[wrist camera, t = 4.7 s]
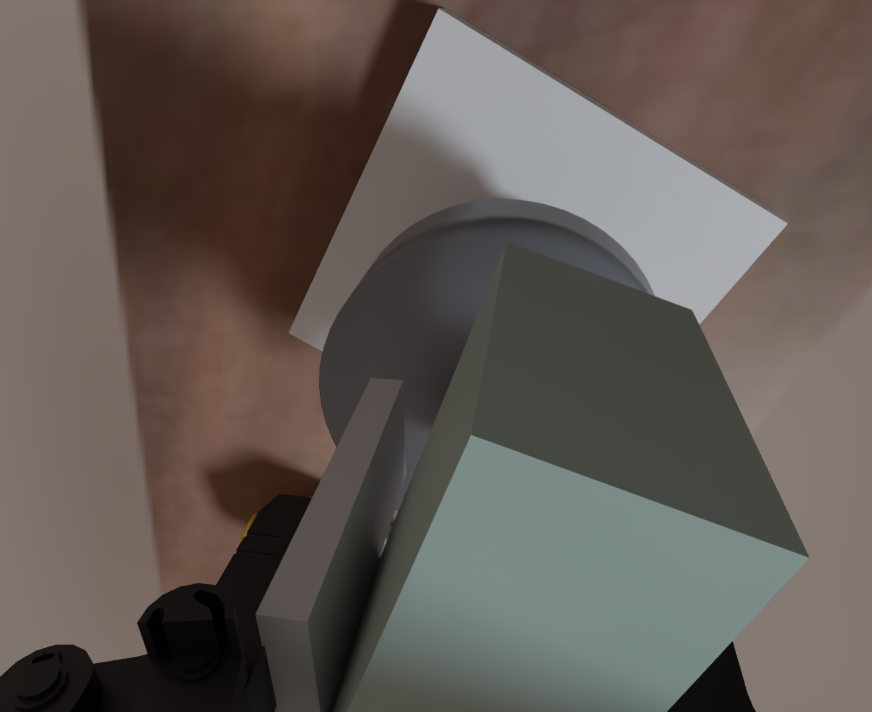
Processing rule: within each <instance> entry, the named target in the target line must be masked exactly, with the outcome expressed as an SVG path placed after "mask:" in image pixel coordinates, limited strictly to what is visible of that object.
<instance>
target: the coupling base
mask: <svg viewBox="0 0 872 712" xmlns="http://www.w3.org/2000/svg"><path fill="white" fill-rule="evenodd" d="M490 199H516V200H525V201H531V202H537V203H543V204H546V205H550V206H553V207H556V208H560V209H563V210H566V211H568V212H570V213H572V214H574V215H577V216H579V217H581V218H583V219H585V220H587V221H589V222H590V223H592V224H593V225H595V226H597V227H598V228H600V229H601V230H603V231H605V232H606V233H607V234H608V235H609V236H611V237H612V238H613V239H614V240H615V241H617V242H618V243H619V244H620V245H621V246H622V247H623V248H624V249H625V250H626V251H627V252H628V254H629V255H630V256H631V257H632V258H633V259H634V260H635V261H636V263H637V264H638V266H639V267H640V269H641V270H642V272H643V273H644V275H645V276H646V278H647V280H648V282H649V284H650V286H651V288H652V291H653V293H654V295H655V296H656V297H659V298H661V299H664V300H667V301H669V302H672V303H675V304H677V305H680V306H683V307H686V308H688V309H691V310H692V311H693V313H694V315H695V317H696V319H697V321H698V323H699V324H700V323H701V322H702V321H703V320H704V319H705V318H706V316H707V315H708V314H709V313H710V312H711V311H712V310H713V308H714V307H715V306H716V305H717V304H718V303H719V302H720V300H721V299H722V298H723V297H724V296H725V295H726V294H727V292H728V291H729V290H730V289H731V288H732V287H733V286H734V284H735V283H736V282H737V281H738V280H739V279H740V278H741V276H742V275H743V274H744V273H745V272H746V271H747V270H748V268H749V267H750V266H751V265H752V264H753V263H754V262H755V261H756V259H757V258H758V257H759V256H760V255H761V254H762V253H763V251H764V250H765V249H766V248H767V247H768V246H769V245H770V243H771V242H772V241H773V240H774V239H775V238H776V237H777V235H778V234H779V233H780V232H781V231H782V230H783V229H784V227H785V226H786V225H787V224H788V223H787V222H786V221H785V220H783V219H782V218H781V217H780V216H779V215H778V214H777V213H776V212H775V211H773V210H772V209H770V208H768V207H767V206H765V205H764V204H762V203H760V202H759V201H757V200H755V199H754V198H752V197H751V196H749V195H747V194H746V193H744V192H742V191H741V190H739V189H738V188H736V187H734V186H733V185H731V184H729V183H728V182H726V181H725V180H723V179H721V178H720V177H718V176H717V175H715V174H713V173H712V172H710V171H708V170H707V169H705V168H704V167H702V166H700V165H699V164H697V163H695V162H694V161H692V160H691V159H689V158H687V157H686V156H684V155H682V154H681V153H679V152H678V151H676V150H674V149H673V148H671V147H669V146H668V145H666V144H665V143H663V142H661V141H660V140H658V139H657V138H655V137H653V136H652V135H650V134H648V133H647V132H645V131H644V130H642V129H640V128H639V127H637V126H635V125H634V124H632V123H631V122H629V121H627V120H626V119H624V118H622V117H621V116H619V115H618V114H616V113H614V112H613V111H611V110H609V109H608V108H606V107H605V106H603V105H601V104H600V103H598V102H597V101H595V100H593V99H592V98H590V97H588V96H587V95H585V94H584V93H582V92H580V91H579V90H577V89H575V88H574V87H572V86H571V85H569V84H567V83H566V82H564V81H562V80H561V79H559V78H558V77H556V76H554V75H553V74H551V73H549V72H548V71H546V70H545V69H543V68H541V67H540V66H538V65H537V64H535V63H533V62H532V61H530V60H528V59H527V58H525V57H524V56H522V55H520V54H519V53H517V52H515V51H514V50H512V49H511V48H509V47H507V46H506V45H504V44H502V43H501V42H499V41H498V40H496V39H494V38H493V37H491V36H490V35H488V34H486V33H485V32H483V31H481V30H480V29H478V28H477V27H475V26H473V25H472V24H470V23H468V22H467V21H465V20H464V19H462V18H460V17H459V16H457V15H455V14H454V13H452V12H451V11H449V10H447V9H446V8H439V9H438V11H437V13H436V15H435V17H434V19H433V22H432V24H431V26H430V28H429V30H428V32H427V35H426V37H425V39H424V41H423V43H422V45H421V48H420V50H419V52H418V54H417V56H416V58H415V60H414V63H413V65H412V67H411V69H410V71H409V73H408V76H407V78H406V80H405V82H404V84H403V86H402V89H401V91H400V93H399V95H398V97H397V99H396V102H395V104H394V106H393V108H392V110H391V112H390V115H389V117H388V119H387V121H386V123H385V125H384V127H383V130H382V132H381V134H380V136H379V138H378V140H377V143H376V145H375V147H374V149H373V151H372V153H371V156H370V158H369V160H368V162H367V164H366V166H365V169H364V171H363V173H362V175H361V177H360V179H359V182H358V184H357V186H356V188H355V190H354V192H353V194H352V197H351V199H350V201H349V203H348V205H347V207H346V210H345V212H344V214H343V216H342V218H341V220H340V223H339V225H338V227H337V229H336V231H335V233H334V236H333V238H332V240H331V242H330V244H329V246H328V249H327V251H326V253H325V255H324V257H323V259H322V262H321V264H320V266H319V268H318V270H317V272H316V274H315V277H314V279H313V281H312V283H311V285H310V287H309V290H308V292H307V294H306V296H305V298H304V300H303V303H302V305H301V307H300V309H299V311H298V313H297V316H296V318H295V320H294V322H293V324H292V326H291V329H290V331H289V334H291V335H293V336H295V337H296V338H298V339H300V340H302V341H304V342H306V343H308V344H309V345H311V346H313V347H315V348H317V349H319V350H321V351H322V352H323V347H324V344H325V342H326V339H327V336H328V333H329V330H330V328H331V326H332V324H333V322H334V320H335V318H336V317H337V315H338V313H339V311H340V309H341V308H342V306H343V305H344V304H345V302H346V301H347V299H348V298H349V296H350V295H351V294H352V292H353V291H354V289H355V288H356V286H357V285H358V284H359V282H360V281H361V279H362V278H363V276H364V275H365V274H366V272H367V271H368V269H369V268H370V266H371V265H372V264H373V262H374V261H375V260H376V258H377V257H378V256H379V254H380V253H381V252H382V251H383V250H384V249H385V248H386V247H387V246H388V245H389V244H390V243H391V242H392V241H393V240H394V239H395V238H396V237H397V236H398V235H399V234H401V233H402V232H403V231H405V230H406V229H407V228H409V227H410V226H411V225H413V224H414V223H416V222H418V221H420V220H422V219H424V218H425V217H427V216H429V215H431V214H433V213H436V212H438V211H441V210H444V209H446V208H449V207H451V206H455V205H460V204H464V203H468V202H472V201H481V200H490Z"/></svg>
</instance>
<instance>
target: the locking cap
mask: <svg viewBox="0 0 872 712" xmlns="http://www.w3.org/2000/svg"><path fill="white" fill-rule="evenodd" d="M370 378H382V379H394V380H403V394H404V426H405V459H406V475H405V479H404V482H403V485H402V488H401V491H400V495H399V498H398V501H397V504H396V507H395V509H396V510H397V511H398V514H397V516H396V519H395V521H394V524H393V526H392V529H391V531H390V534H389V536H388V539H387V541H386V544H385V546H384V549H383V551H382V554H381V556H380V559H379V562H378V565H377V568H376V571H375V575H374V578H373V581H372V584H371V588H370V591H369V594H368V597H367V600H366V604H365V607H364V610H363V613H362V616H361V620H360V623H359V626H358V629H357V633H356V636H355V639H354V642H353V645H352V649H351V652H350V655H349V658H348V661H347V665H346V668H345V671H344V674H343V678H342V681H341V684H340V687H339V690H338V694H337V697H336V700H335V703H334V706H333V710H332V712H667V711H668V710H669V709H670V708H671V707H672V706H673V705H674V703H675V702H676V701H677V700H678V699H679V698H680V697H681V696H682V695H683V694H684V693H685V692H686V691H687V689H688V688H689V687H690V686H691V685H692V684H693V683H694V682H695V681H696V680H697V679H698V678H699V677H700V675H701V674H702V673H703V672H704V671H705V670H706V669H707V668H708V667H709V666H710V665H711V664H712V662H713V661H714V660H715V659H716V658H717V657H718V656H719V655H720V654H721V653H722V652H723V651H724V650H725V648H726V647H727V646H728V645H729V644H730V643H731V642H732V641H733V640H734V639H735V638H736V636H738V634H739V633H740V632H741V631H742V630H743V629H744V628H745V627H746V625H748V623H750V621H751V620H752V619H753V618H754V617H755V616H756V615H757V614H758V613H759V612H760V611H761V610H762V609H763V608H764V606H765V605H766V604H767V603H768V602H769V601H770V600H771V599H772V598H773V597H774V596H775V595H776V593H777V592H778V591H779V590H780V589H781V588H782V587H783V586H784V585H785V584H786V583H787V582H788V581H789V579H790V578H791V577H792V576H793V575H794V574H795V573H796V572H797V571H798V570H799V569H800V568H801V567H802V565H803V564H804V563H805V562H806V561H807V560H808V559H809V556H808V554H807V552H806V549H805V547H804V545H803V543H802V541H801V539H800V537H799V535H798V533H797V530H796V528H795V526H794V524H793V522H792V520H791V518H790V516H789V513H788V511H787V509H786V507H785V505H784V503H783V501H782V499H781V497H780V494H779V492H778V490H777V488H776V486H775V484H774V482H773V480H772V478H771V475H770V473H769V471H768V469H767V467H766V465H765V463H764V461H763V459H762V456H761V454H760V452H759V451H758V448H757V446H756V444H755V442H754V440H753V437H752V435H751V433H750V431H749V429H748V427H747V425H746V423H745V420H744V418H743V416H742V414H741V412H740V410H739V408H738V406H737V404H736V401H735V399H734V397H733V395H732V393H731V391H730V389H729V387H728V385H727V382H726V380H725V378H724V376H723V374H722V372H721V370H720V368H719V365H718V363H717V361H716V359H715V357H714V355H713V353H712V351H711V349H710V346H709V344H708V342H707V340H706V338H705V336H704V334H703V332H702V330H701V327H700V325H699V323H698V321H697V319H696V317H695V315H694V313H693V311H692V310H691V309H688V308H686V307H683V306H680V305H677V304H675V303H672V302H669V301H667V300H664V299H661V298H659V297H656V296H655V295H654V293H653V291H652V288H651V286H650V284H649V282H648V280H647V278H646V276H645V275H644V273H643V272H642V270H641V269H640V267H639V266H638V264H637V263H636V261H635V260H634V259H633V258H632V257H631V256H630V255H629V254H628V252H627V251H626V250H625V249H624V248H623V247H622V246H621V245H620V244H619V243H618V242H617V241H615V240H614V239H613V238H612V237H611V236H609V235H608V234H607V233H606V232H605V231H603V230H601V229H600V228H598V227H597V226H595V225H593V224H592V223H590V222H589V221H587V220H585V219H583V218H581V217H579V216H577V215H574V214H572V213H570V212H568V211H566V210H563V209H560V208H556V207H553V206H550V205H546V204H543V203H537V202H531V201H525V200H516V199H490V200H481V201H472V202H468V203H464V204H460V205H455V206H451V207H449V208H446V209H444V210H441V211H438V212H436V213H433V214H431V215H429V216H427V217H425V218H424V219H422V220H420V221H418V222H416V223H414V224H413V225H411V226H410V227H409V228H407V229H406V230H405V231H403V232H402V233H401V234H399V235H398V236H397V237H396V238H395V239H394V240H393V241H392V242H391V243H390V244H389V245H388V246H387V247H386V248H385V249H384V250H383V251H382V252H381V253H380V254H379V256H378V257H377V258H376V260H375V261H374V262H373V264H372V265H371V266H370V268H369V269H368V271H367V272H366V274H365V275H364V276H363V278H362V279H361V281H360V282H359V284H358V285H357V286H356V288H355V289H354V291H353V292H352V294H351V295H350V296H349V298H348V299H347V301H346V302H345V304H344V305H343V306H342V308H341V309H340V311H339V313H338V315H337V317H336V318H335V320H334V322H333V324H332V326H331V328H330V330H329V333H328V336H327V339H326V342H325V344H324V347H323V352H322V358H321V363H320V376H319V389H320V398H321V406H322V410H323V414H324V417H325V421H326V425H327V427H328V429H329V432H330V434H331V437H332V439H333V441H334V443H335V445H336V447H337V446H338V444H339V442H340V440H341V438H342V436H343V434H344V432H345V430H346V428H347V426H348V423H349V421H350V419H351V417H352V415H353V413H354V411H355V409H356V407H357V405H358V403H359V401H360V399H361V397H362V395H363V393H364V391H365V389H366V387H367V385H368V382H369V380H370Z"/></svg>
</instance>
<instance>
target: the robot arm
mask: <svg viewBox="0 0 872 712" xmlns="http://www.w3.org/2000/svg"><path fill="white" fill-rule="evenodd" d="M405 475H406V459H405V426H404V394H403V380H394V379H382V378H370V380H369V382H368V385H367V387H366V389H365V391H364V393H363V395H362V397H361V399H360V401H359V403H358V405H357V407H356V409H355V411H354V413H353V415H352V417H351V419H350V421H349V423H348V426H347V428H346V430H345V432H344V434H343V436H342V438H341V440H340V442H339V444H338V446H337V448H336V450H335V452H334V454H333V456H332V458H331V460H330V462H329V465H328V467H327V469H326V471H325V473H324V475H323V477H322V479H321V481H320V483H319V485H318V487H317V489H316V491H315V493H314V495H313V497H312V498H308V497H299V496H290V495H281V494H279V495H278V496H277V497H276V498H274V499H273V500H272V501H271V502H270V503H268V504H267V505H266V506H265V507H264V508H262V509H261V510H260V511H259V512H258V514H257V515H256V517H255V519H254V521H253V522H252V524H251V526H250V527H249V529H248V531H247V535H246V537H245V536H244V538H243V540H242V541H241V543H240V545H239V546H238V548H237V552H236V554H234V555H233V557H232V558H231V560H230V562H229V564H228V565H227V567H226V569H225V571H224V572H223V574H222V576H221V577H220V579H219V581H218V583H217V584H216V585H210V584H202V583H197V584H191V585H186V586H181V587H178V588H176V589H174V590H172V591H170V592H168V593H166V594H164V595H162V596H161V597H160V598H158V599H157V600H156V601H155V602H154V603H152V604H151V605H150V606H149V607H147V609H146V611H145V612H144V613H143V615H142V617H141V618H140V619H139V621H138V622H137V624H138V626H139V630H140V632H141V636H142V638H143V641H144V644H145V647H146V650H147V653H148V654H146V655H142V656H138V657H132V658H126V659H121V660H114V661H108V662H102V663H96V664H93V662H92V660H91V659H90V657H89V655H88V654H87V652H86V651H85V650H84V649H81V648H79V647H77V646H75V645H53V646H50V647H47V648H44V649H41V650H37V651H35V652H33V653H31V654H30V655H28V656H26V657H24V658H23V659H21V660H19V661H17V662H16V663H15V664H14V665H13V666H12V667H11V668H9V669H8V670H7V671H6V672H5V673H4V674H3V675H2V676H1V677H0V712H274V711H275V712H332V710H333V706H334V703H335V700H336V697H337V694H338V690H339V687H340V684H341V681H342V678H343V674H344V671H345V668H346V665H347V661H348V658H349V655H350V652H351V649H352V645H353V642H354V639H355V636H356V633H357V629H358V626H359V623H360V620H361V616H362V613H363V610H364V607H365V604H366V600H367V597H368V594H369V591H370V588H371V584H372V581H373V578H374V575H375V571H376V568H377V565H378V562H379V559H380V556H381V552H382V549H383V546H384V543H385V540H386V536H387V533H388V530H389V527H390V523H391V520H392V517H393V514H394V511H395V507H396V504H397V501H398V498H399V495H400V491H401V488H402V485H403V482H404V479H405ZM667 712H756V711H755V709H754V708H753V706H752V703H751V701H750V698H749V696H748V693H747V690H746V686H745V683H744V679H743V676H742V672H741V669H740V665H739V662H738V658H737V655H736V651H735V648H734V644H733V641H732V642H731V643H730V644H729V645H728V646H727V647H726V648H725V650H724V651H723V652H722V653H721V654H720V655H719V656H718V657H717V658H716V659H715V660H714V661H713V662H712V664H711V665H710V666H709V667H708V668H707V669H706V670H705V671H704V672H703V673H702V674H701V675H700V677H699V678H698V679H697V680H696V681H695V682H694V683H693V684H692V685H691V686H690V687H689V688H688V689H687V691H686V692H685V693H684V694H683V695H682V696H681V697H680V698H679V699H678V700H677V701H676V702H675V703H674V705H673V706H672V707H671V708H670V709H669V710H668V711H667Z"/></svg>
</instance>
